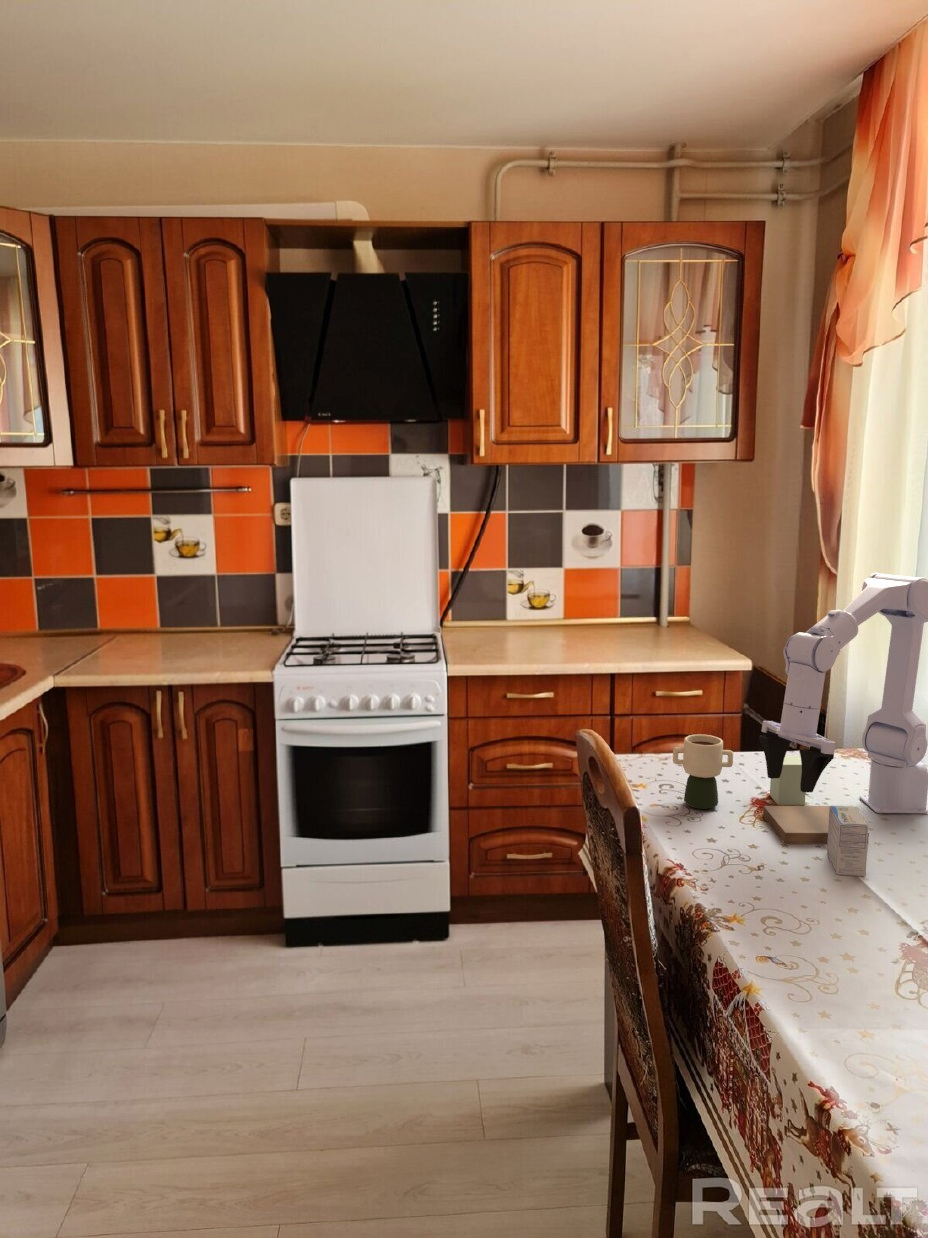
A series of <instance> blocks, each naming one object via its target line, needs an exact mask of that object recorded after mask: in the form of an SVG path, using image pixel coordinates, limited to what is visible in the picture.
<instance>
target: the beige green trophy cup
mask: <svg viewBox="0 0 928 1238" xmlns="http://www.w3.org/2000/svg"><path fill="white" fill-rule="evenodd" d="M679 753H682V755H683V756H682V759H679ZM723 756H727V761H723ZM672 763H673V764H675V765H682V768H683V769H684V772H685V774H688V777H687V780H686V785H685V790H684V795H683V797H684V798H683V801H684V803H686V805H688V806H690V807H692V808H695V809H698V810H699V809H700V810H703V809H704V810H708V809H712V808H715V807H716V806H718V805H719V793H718V783H717V779H716V777H718V776H720V775H721V772H722V770H723V768H732V767H733V765H734V751H733V750H730V749H724V740H723V739H722V738H720V737H717V736H714V735H710V734H709V735H708V734H701V733H700V734H699V733H698V734H691V735H690V734H689V735H687V736H685V737H684V739H683V747H678V746H675V747H673V749H672Z"/></svg>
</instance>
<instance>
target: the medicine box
mask: <svg viewBox="0 0 928 1238" xmlns="http://www.w3.org/2000/svg"><path fill="white" fill-rule="evenodd" d="M829 806H830V810H829V825H828V840H827V844H826V855H828V858H829V861H830V863H831V864H832V867H833V869H834V871H835V873H836V875H841V876H850V877H851V876H853V877H866V876H867V861H868V845H869V840H868V833H869V825H868V823H867V821H866V820H865V818H864V816H863V814H862V813H861V812H860V809H859V808H858V807H857V806H851V805H850V806H848V805H829Z"/></svg>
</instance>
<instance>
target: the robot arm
mask: <svg viewBox="0 0 928 1238" xmlns="http://www.w3.org/2000/svg"><path fill="white" fill-rule="evenodd" d="M861 587H862V588H861V592H860V593H859V594H858V595H857V596H856V597H855V598H854V599H853V600H852V601H851V602H850V603H849V604H848V605H847V606H846V607H845V608H844V609H843V610H841V609H830V610H829V611H828V612H827V614H826V615H825V616H824V617H823V618H822V619H820V620H819V621H818V622H816V623H815V624H814V625H812V626H811V628H809V629H808V630H807V631H805V632H797V633H795V634H793V635H791V636H790V637H789V638H788V640H787V641H786V643H785V646H784V647H783V659H784V662H785V668H784V669H785V671H784V672H785V675H787V678H786V685H785V691H784V692H785V693H784V700H783V705H782V712H781V718H780V723H779V722H776V721H774V720H763V721H762V725H761V732H762V733H765V734H764V735H762V734H761V735H759V738H758V740H759V742H760V744H761V747H762V750H763V753H764V758H765V765H766V773H767V778H768V779H771V778H780V775H781V772H782V767H783V762H784V758H785V756H787V755H786V754H787V752H788V749H789V747H790V745H791V743H792V742H793V743H796V744H799V745H801V746H805V747H808V748H799V755H800V758H801V764H802V774H801V783H800V789H801V791H802V792H806V793H813V792H814V790H815V788H816V786H817V782H818V781H819V778H820V777H821V775H822V773H823V772H824V770H825V769H826V768H827V766H828V765H829V764H830V762H831V761H832V760H833V759H834V757H835V750H836V744H837V742H835V741H833V740H830V739H828V738H826V737H824V736H822V735H820V734H818V733H817V731H818V724H819V719H820V717H819V716H820V712H821V705H822V699H823V692H824V685H825V679H826V672H827V671H829V670H831V669H832V668H833V667H834V666H835V663H836V659H837V657H838V656H839V655H840V653H841V649H843V648H844V647H845V646H846V645H848V644H849V643H850V642H852V641H853V639H855V638H856V637H857V636H858V634H859V626H860V625H862V624H863V623H864V622H866V621H867V620H869V619H870V618H871V617H873V616H875V615H876V614H877V613H879V614H880V615H881V616H884V617H885V619H886V620H887V621H888V622H889V623H890V625H891V631H890V637H889V638H890V640H889V647H888V654H887V660H886V661H887V662H886V667H885V668H886V669H885V677H884V684H883V685H884V686H883V695H882V701H881V708H879V709H877V710H875V711H873V712H871V713H870V714H869V715H868V716H867V720H866V724H865V727H864V729H863V732H862V735H861V744H862V748H863V750H864V751H865V752H866V753H867V758H869V759H870V768H869V769H870V770H869V780H868V781H869V783H868V794H864V795H863V794H860V795H859V799H860V800H861V801H863V802H864V803H865V805H867V806H868V807H869V808H870V809H871V810H873V811H874V812H875V813H876V814H928V809H927V803H928V802H927V801H928V768H927V765H926V764H925V763H924V762H923V761H922V760H923V759H924V757H925V756H926V753H927V749H928V741H927V736H926V735H927V733H926V732H927V731H926V730H927V724H926V723H925V722H924V721H923V720H922V719H921V718H920V717H919V716H918V714H917V715H916V713H915V712H914V711H913V708H914V701H915V700H914V699H915V693H916V686H917V677H918V673H919V672H918V671H919V663H920V662H919V661H920V655H921V647H922V640H923V632H924V626H925V623H928V579H927V578H925V577H924V576H923V577H922V576H920V577H913V576H904V575H895V574H886V573H881V572H874V573H871V574H870V575H869V576H868V578H866V579H864V580H863V583H862V586H861Z"/></svg>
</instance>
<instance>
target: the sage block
mask: <svg viewBox="0 0 928 1238" xmlns="http://www.w3.org/2000/svg"><path fill="white" fill-rule="evenodd" d="M801 774H802V764H801V756H800V757H799V756H798V755H785V758H784V762H783V767H782V772H781V775H780V778H770V783H769V784H770V785H769V786H770V788H769V796H770V797H771V798H772V800H773V801H774V802H775V803H776V804H777V806H806V793H807V792H802V791H801V789H800V783H801Z"/></svg>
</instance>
